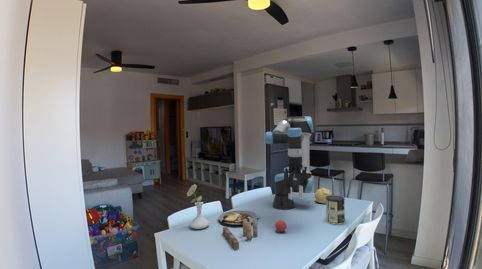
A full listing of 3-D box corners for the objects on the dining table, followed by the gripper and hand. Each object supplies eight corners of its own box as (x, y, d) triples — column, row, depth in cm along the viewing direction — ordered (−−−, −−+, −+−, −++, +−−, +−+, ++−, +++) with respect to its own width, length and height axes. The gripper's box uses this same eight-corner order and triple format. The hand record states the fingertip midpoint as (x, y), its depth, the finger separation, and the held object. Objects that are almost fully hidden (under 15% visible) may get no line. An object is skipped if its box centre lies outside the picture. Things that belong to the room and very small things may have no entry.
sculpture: (331, 205, 179) (330, 190, 179) (313, 203, 184) (313, 189, 184) (332, 201, 189) (332, 186, 189) (316, 199, 194) (316, 185, 194)
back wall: (222, 233, 135) (222, 227, 135) (226, 232, 136) (226, 226, 136) (234, 250, 117) (234, 242, 117) (239, 249, 117) (238, 241, 117)
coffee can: (343, 218, 153) (342, 195, 153) (346, 225, 143) (346, 200, 143) (325, 217, 155) (324, 194, 155) (327, 224, 145) (327, 199, 145)
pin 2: (245, 239, 128) (245, 222, 128) (250, 238, 129) (249, 221, 128) (247, 241, 126) (247, 224, 125) (252, 240, 126) (251, 223, 126)
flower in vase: (201, 221, 154) (200, 180, 153) (213, 226, 146) (212, 183, 145) (183, 228, 144) (181, 184, 144) (194, 233, 136) (193, 187, 136)
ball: (273, 230, 138) (273, 219, 138) (283, 228, 140) (283, 217, 140) (278, 234, 132) (278, 223, 132) (288, 232, 134) (288, 221, 134)
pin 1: (242, 235, 133) (242, 219, 132) (246, 234, 133) (246, 218, 133) (244, 237, 130) (243, 220, 130) (248, 236, 131) (248, 220, 131)
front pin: (252, 235, 132) (251, 219, 132) (256, 235, 133) (256, 218, 132) (254, 237, 129) (253, 221, 129) (258, 236, 130) (258, 220, 130)
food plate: (250, 229, 140) (250, 223, 140) (212, 225, 148) (212, 219, 148) (262, 216, 163) (262, 210, 163) (229, 213, 171) (228, 207, 171)
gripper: (282, 157, 132) (283, 202, 132) (313, 155, 138) (314, 197, 139) (276, 156, 139) (277, 198, 139) (305, 154, 145) (306, 194, 146)
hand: (295, 198), depth 139 cm, fingers open, 6 cm apart
